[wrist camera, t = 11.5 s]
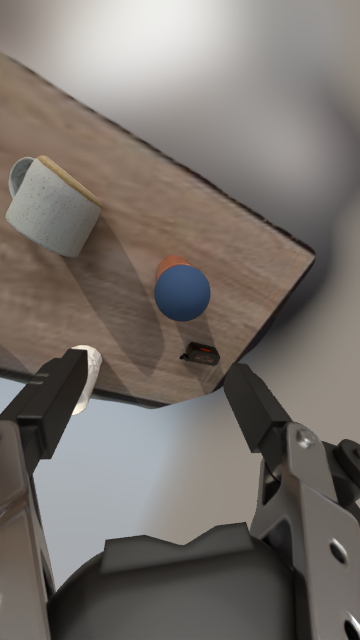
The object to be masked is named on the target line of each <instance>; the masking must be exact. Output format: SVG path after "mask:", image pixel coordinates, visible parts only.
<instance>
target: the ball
mask: <svg viewBox="0 0 360 640" xmlns="http://www.w3.org/2000/svg"><path fill="white" fill-rule="evenodd" d="M154 294H155V301H156V304H157V306H158V308H159V309H160V311H161V312H162V313H163V314H164V315H165V316H167V317H168V318H170V319H172V320H176V321H189V320H192V319H195V318H196V317H198V316H199V315H201V314H202V313H203V311H204V310H205V309H206V307H207V305H208V303H209V300H210V286H209V283H208V281H207V279H206V277H205V276H204V275H203V273H202V272H200V271H199V270H198V269H196V268H194V267H192V266H189V265H176V266H173V267H171V268H169V269H167V270H166V271H164V272H163V273H162V274H161V276H160V277H159V278H158V280H157V283H156V285H155V292H154Z"/></svg>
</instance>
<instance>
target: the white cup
mask: <svg viewBox="0 0 360 640" xmlns="http://www.w3.org/2000/svg"><path fill="white" fill-rule="evenodd" d="M72 349H84V350H87V351H88V379H87V383H86V385H85V388H84V390H83V392H82V394H81V396H80V398H79V400H78V402H77V405H76V407H75V409H74V411H73V413H72V415H71V416H73V415H77V414H79V413H80V412H82V411H83V410H85V408H86V407H87V405H88V402H89V399H90V396H91V394H92V391H93V388H94V385H95V383H96V380H97V377H98V374H99V369H100V366H101V363H102V357H101V354H100V353H99V352H98V351H97V350H96V349H94V348H92V347H90V346H84V345H79V346H76V347H72Z"/></svg>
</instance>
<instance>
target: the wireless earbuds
mask: <svg viewBox="0 0 360 640" xmlns="http://www.w3.org/2000/svg"><path fill="white" fill-rule="evenodd" d="M180 359H184V360H185V361H193V362H198V363H202V364H207V365H212V366H215V365H217V363H218V361H219V359H220V355H219V353H218V351H217V349H216V348H215V347H211V346H207V345H203V344H199V343H194V342H191V343H190V344H189V346H188V348H187V354H185V353H184V354H183V355H182V356H180Z"/></svg>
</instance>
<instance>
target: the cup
mask: <svg viewBox="0 0 360 640" xmlns="http://www.w3.org/2000/svg"><path fill="white" fill-rule="evenodd" d="M176 265H189V266H192V267H194V266H193V265H192V264H191V263H190V262H189V261H187V260H186V259H185V258H183V257H181V256H177V255H172V256H168V257H166V258H164V259H163V260H162V261H161V262H160V264H159V265H158V267H157V273H156V283H157V280H158V278H159V277H160V276H161V274H162V273H163V272H164V271H166V270H167V269H169V268H171V267H173V266H176ZM194 268H195V267H194Z"/></svg>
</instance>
